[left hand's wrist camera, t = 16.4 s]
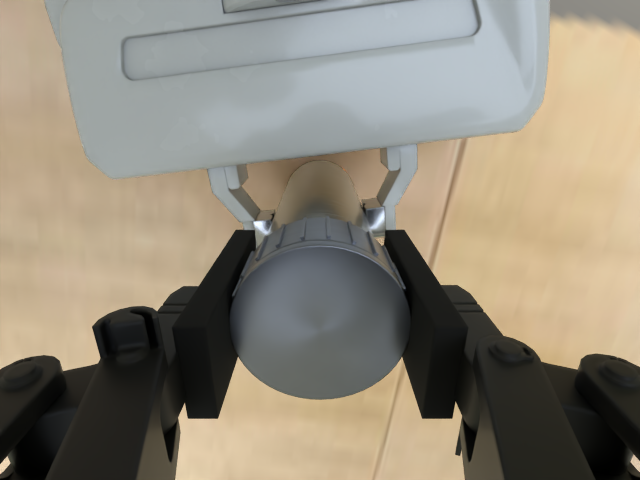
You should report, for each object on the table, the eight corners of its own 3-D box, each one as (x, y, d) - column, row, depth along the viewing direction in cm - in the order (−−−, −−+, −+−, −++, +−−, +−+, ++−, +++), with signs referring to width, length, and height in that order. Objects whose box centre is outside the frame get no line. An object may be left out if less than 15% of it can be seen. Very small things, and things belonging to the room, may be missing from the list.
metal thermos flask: (326, 145, 24) (336, 212, 9) (367, 200, 25) (431, 332, 11) (272, 188, 25) (205, 308, 10) (314, 238, 26) (307, 406, 12)
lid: (335, 180, 11) (339, 201, 9) (426, 299, 13) (450, 343, 10) (211, 275, 12) (185, 315, 10) (308, 373, 14) (306, 427, 11)
